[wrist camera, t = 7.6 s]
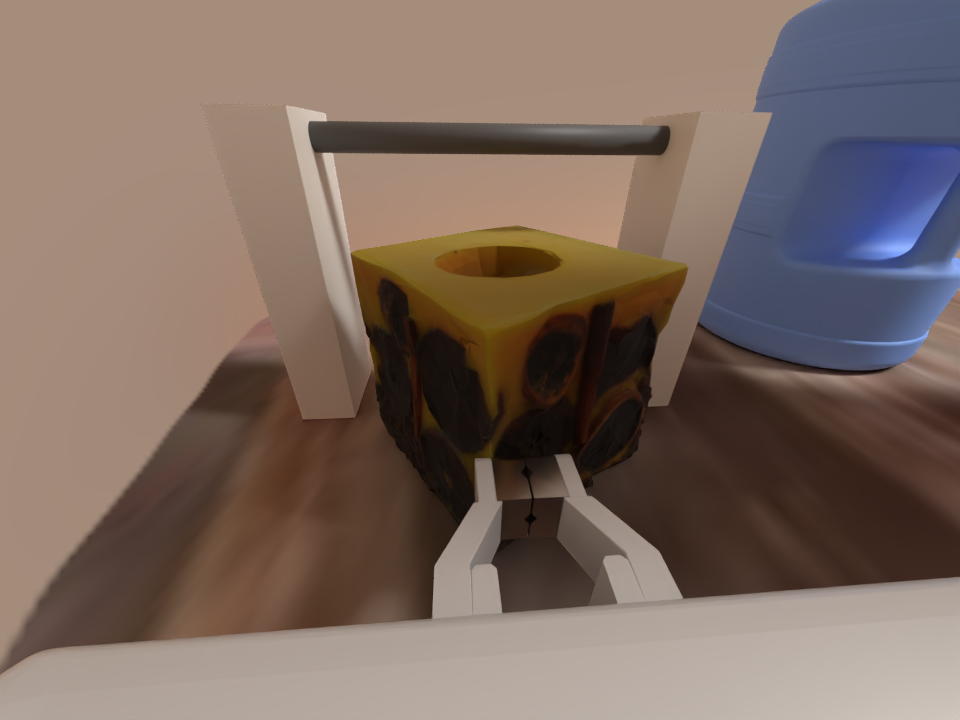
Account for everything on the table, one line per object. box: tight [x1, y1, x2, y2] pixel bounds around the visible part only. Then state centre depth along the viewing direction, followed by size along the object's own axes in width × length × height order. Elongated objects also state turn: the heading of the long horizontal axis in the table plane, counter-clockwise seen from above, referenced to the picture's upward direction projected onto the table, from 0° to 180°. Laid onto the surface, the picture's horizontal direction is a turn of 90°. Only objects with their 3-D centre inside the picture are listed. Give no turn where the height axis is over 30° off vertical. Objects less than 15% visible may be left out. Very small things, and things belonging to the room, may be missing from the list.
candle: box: [350, 226, 688, 552], centre depth 17 cm, size 10×10×10 cm
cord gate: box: [201, 104, 772, 420], centre depth 20 cm, size 22×5×15 cm, turn 94°
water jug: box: [698, 0, 960, 370], centre depth 25 cm, size 16×16×28 cm
